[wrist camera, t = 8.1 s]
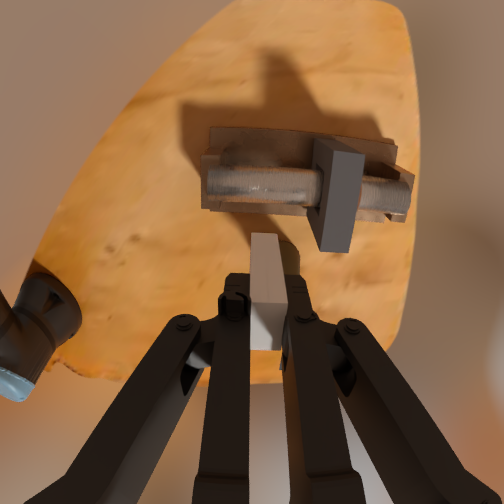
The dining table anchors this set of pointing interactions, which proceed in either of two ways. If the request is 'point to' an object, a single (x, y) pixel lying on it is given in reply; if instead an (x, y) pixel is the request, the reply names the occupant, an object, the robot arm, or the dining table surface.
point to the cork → (289, 258)
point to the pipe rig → (295, 174)
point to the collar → (336, 194)
